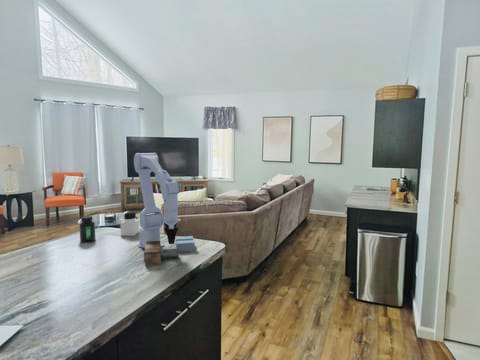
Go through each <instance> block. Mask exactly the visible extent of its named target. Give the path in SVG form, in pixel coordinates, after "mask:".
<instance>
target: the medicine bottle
mask: <svg viewBox="0 0 480 360" xmlns="http://www.w3.org/2000/svg"><path fill="white" fill-rule="evenodd" d="M136 213H137V212H135V211H133V210H129V211H127V210H126V211H124V212H123V221H120V225H119V226H120V236H123V237H125V236H126V237H128V236H129V237H134V236H136V235H138V234H139V232H140V219H137V218H136Z"/></svg>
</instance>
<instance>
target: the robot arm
mask: <svg viewBox="0 0 480 360" xmlns="http://www.w3.org/2000/svg"><path fill="white" fill-rule="evenodd" d="M133 166H134V170H135V172H136V173H137V174H138V178H139V183H140V188H141V196H142V199H143V200H142V201H143V206H144V208H143V209H142V210H141V211H140V213H139V226H140V227H141V228H140V229H139V233H138V235H139V236H138V239H139V241H138V243H139V245H137V246H138V247H139V248H142V249H145V247H146V242H147V241H160V242H161V229H162V227H163V225H164V228H163V229H164V232H165V233H166V237H167V242H168V244H169V245H175V243H176V237H177V236H176V235H177V233H178V231H179V227H177V225H178V222H179V223H180V222H181V218H179V217H178V215H179V214H178V213H179V212H178V211H179V210H178V209H179V208H178V205H179V204H178V203H179V202H178V201H179V200H178V194H180V192H181V185H180V183H179V180H177V179H173V178H172V177H171V175H170V174H169V172H168V171H167V170H165V169H163V168H162V166H161V164H160V163H159V156H158V154H157V152H142V153H141V152H136V153H135V154H134V156H133ZM152 172H153V173H154V178H155V180H156V181H157V184H159V187H160V192H161V197H162V200H163V211H162V209H160V208H159V207H157V206H156V202H155V197H154V196H155V195H154V192H153V191H154V190H153V184H152V180H151V173H152ZM164 246H165V244H163V243H160V247H164Z"/></svg>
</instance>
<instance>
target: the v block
mask: <svg viewBox="0 0 480 360" xmlns="http://www.w3.org/2000/svg"><path fill="white" fill-rule="evenodd" d="M195 245H196V243H195V240H194V236H193V235H191V236H190V235H188V236H176V237H175V249H177V248H178V251H179V253H184V252H195V251H196V250H195V247H196V246H195Z"/></svg>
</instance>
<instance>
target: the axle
mask: <svg viewBox="0 0 480 360" xmlns="http://www.w3.org/2000/svg"><path fill="white" fill-rule="evenodd" d="M179 253H180V252H179V251H178V248H177V249H176V248H166V249H163V248H162V249H161V250H160V256H161V260H171V259H179V256H180V255H179ZM143 260H144V261H145V250H144V251H143Z"/></svg>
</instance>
